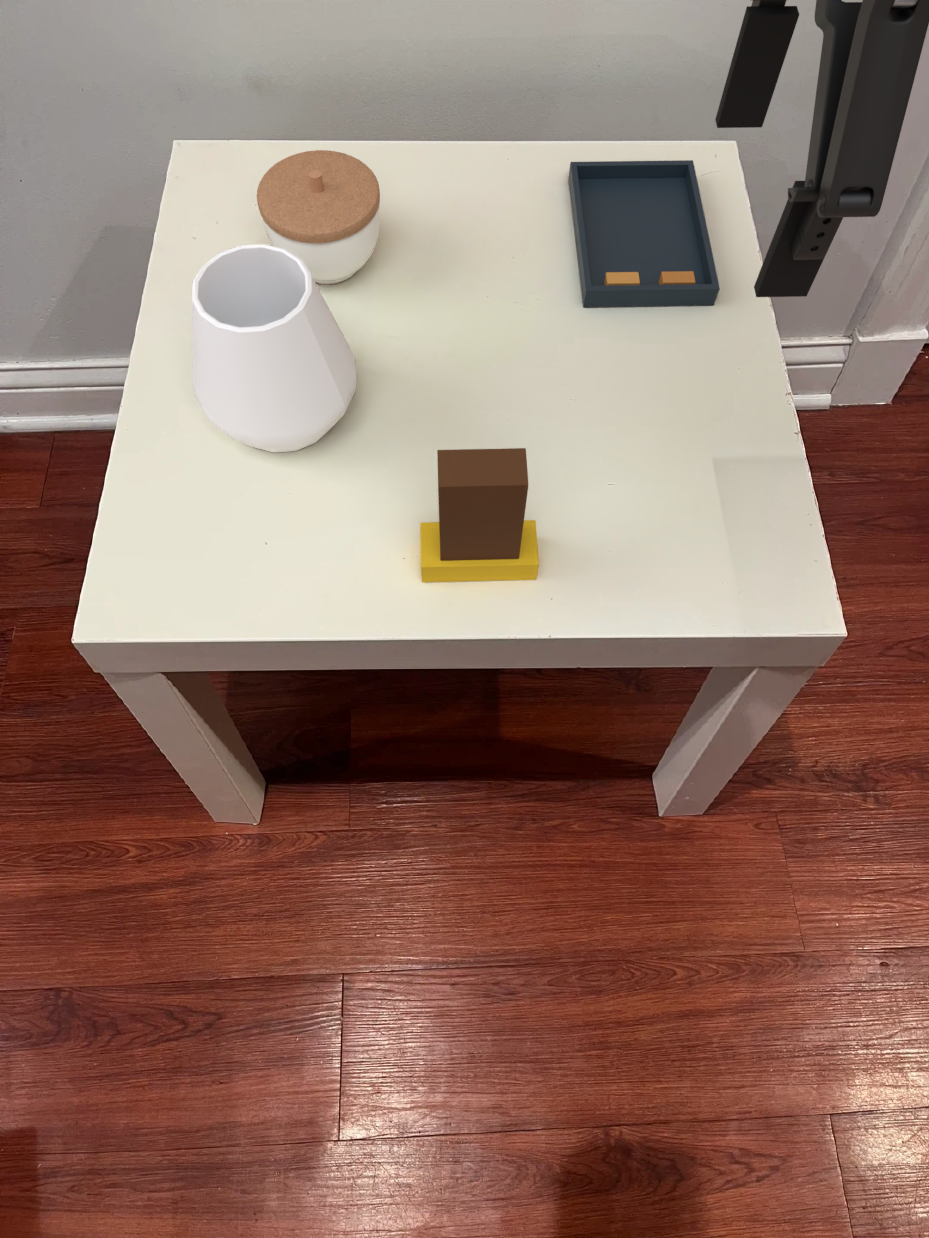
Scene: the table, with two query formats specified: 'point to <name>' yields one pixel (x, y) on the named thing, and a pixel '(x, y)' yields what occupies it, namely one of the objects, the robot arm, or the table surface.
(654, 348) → the table surface
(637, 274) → the crumb
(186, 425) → the table surface
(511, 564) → the brush
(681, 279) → the crumb
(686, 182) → the tray
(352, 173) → the trinket box
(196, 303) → the white vase
